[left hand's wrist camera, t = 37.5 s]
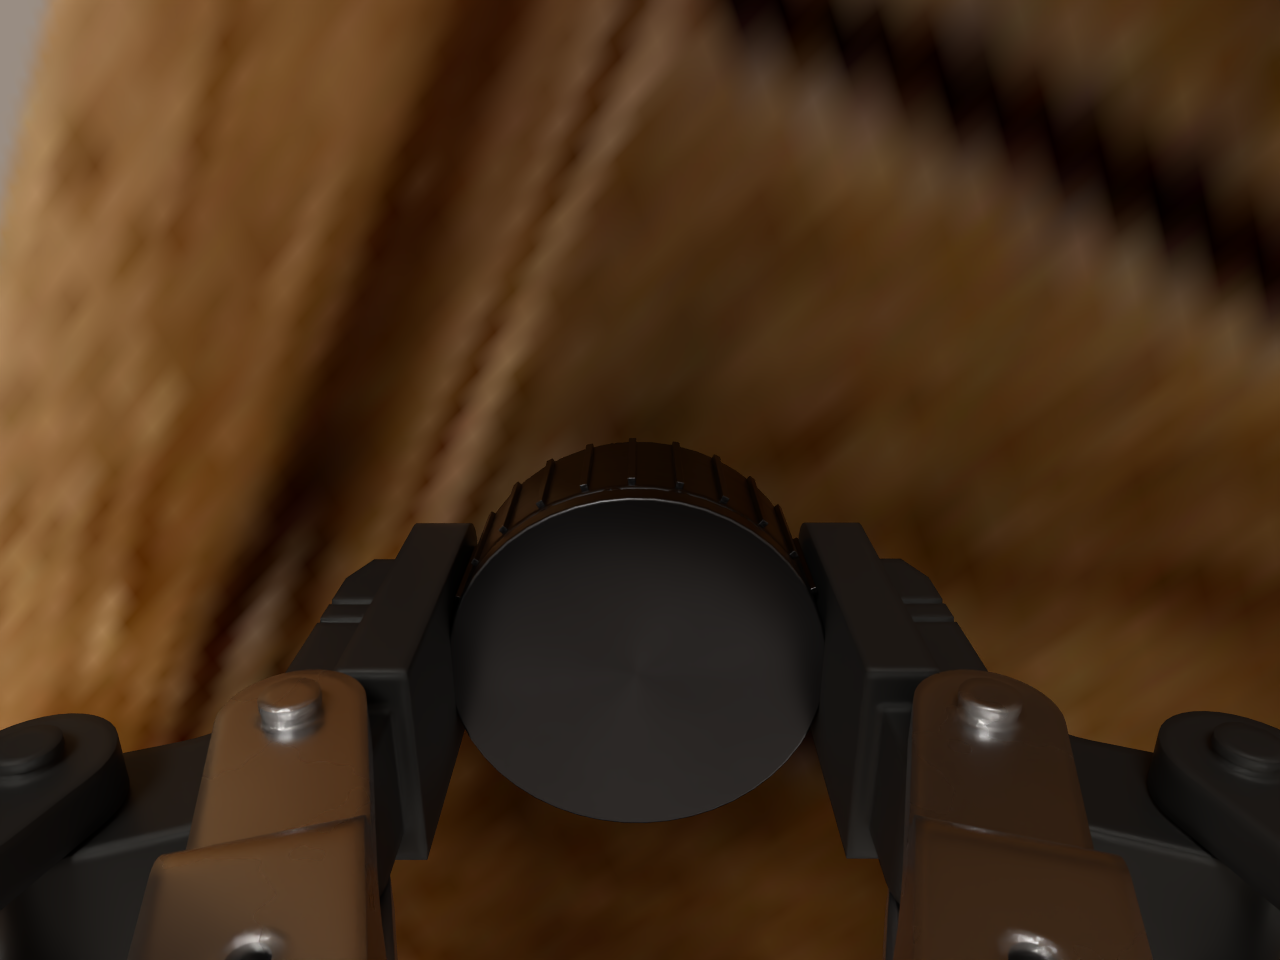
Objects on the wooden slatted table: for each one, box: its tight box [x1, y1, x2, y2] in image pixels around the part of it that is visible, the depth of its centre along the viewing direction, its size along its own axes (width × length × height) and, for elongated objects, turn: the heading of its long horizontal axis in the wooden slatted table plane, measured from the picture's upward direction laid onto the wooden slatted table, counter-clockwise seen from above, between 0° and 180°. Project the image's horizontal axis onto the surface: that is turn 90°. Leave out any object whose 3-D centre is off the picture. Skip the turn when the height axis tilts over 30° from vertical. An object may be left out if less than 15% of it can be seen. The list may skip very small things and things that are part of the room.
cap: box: [450, 438, 825, 823], centre depth 11 cm, size 4×4×2 cm
